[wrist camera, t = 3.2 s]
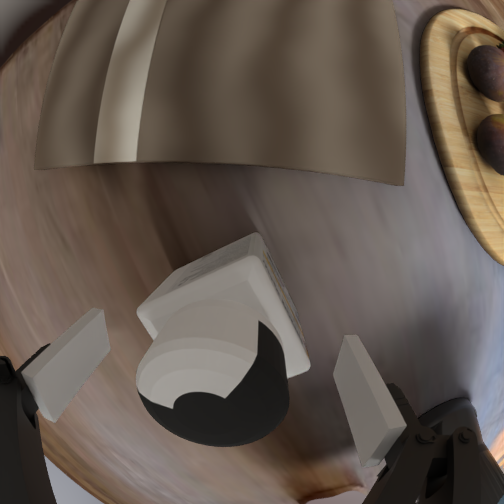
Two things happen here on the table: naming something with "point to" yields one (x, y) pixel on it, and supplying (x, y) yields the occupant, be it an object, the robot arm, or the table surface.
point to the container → (221, 347)
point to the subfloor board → (229, 86)
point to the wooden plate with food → (468, 116)
